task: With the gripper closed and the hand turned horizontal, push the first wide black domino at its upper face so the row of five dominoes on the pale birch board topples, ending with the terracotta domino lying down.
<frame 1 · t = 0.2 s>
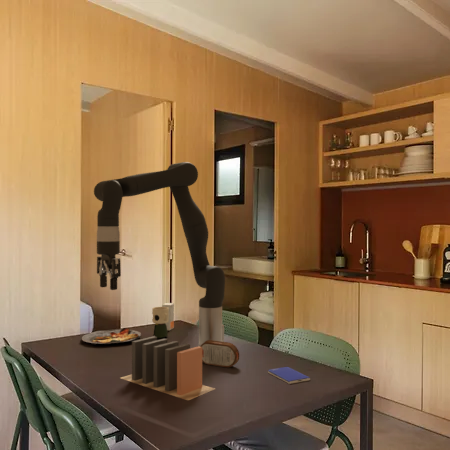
hand: (108, 288, 158), 28 cm above the table, tool pointing down, fingers open, 8 cm apart
domino 4: (177, 386, 141), point 1 cm above the table, touching board
tin: (218, 366, 166), on the table
board: (166, 385, 145), on the table
domino 5: (189, 390, 138), point 1 cm above the table, touching board
food plate: (112, 340, 203), on the table
skincare box: (168, 329, 224), on the table
domino 1: (144, 376, 151), point 1 cm above the table, touching board
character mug: (160, 338, 207), on the table
blue notebook: (288, 378, 154), on the table
domino 2: (155, 379, 148), point 1 cm above the table, touching board
domino 3: (166, 383, 145), point 1 cm above the table, touching board
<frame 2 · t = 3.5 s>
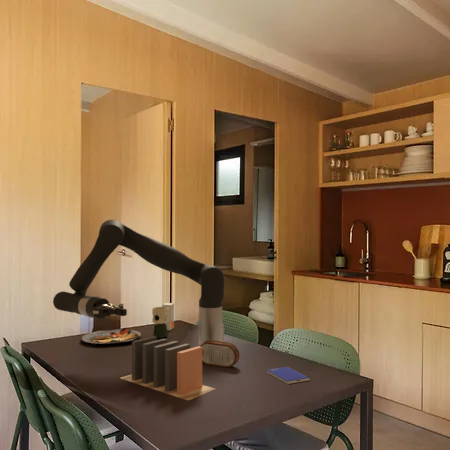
hand: (124, 312, 157), 20 cm above the table, tool horizontal, fingers closed
nothing on the table moved.
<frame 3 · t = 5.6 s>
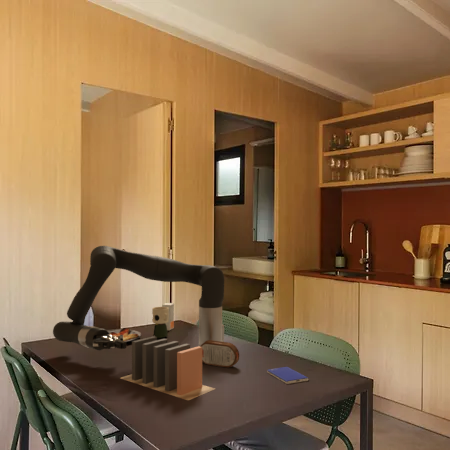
hand: (124, 345, 157), 9 cm above the table, tool horizontal, fingers closed
nothing on the table moved.
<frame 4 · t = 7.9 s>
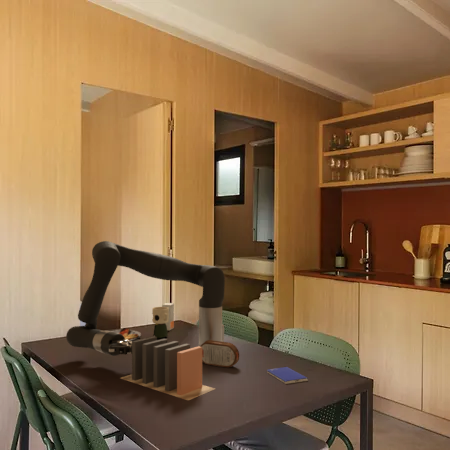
hand: (141, 351, 151), 9 cm above the table, tool horizontal, fingers closed
domino 1: (144, 376, 151), point 1 cm above the table, touching board, gripper
everything else where it was.
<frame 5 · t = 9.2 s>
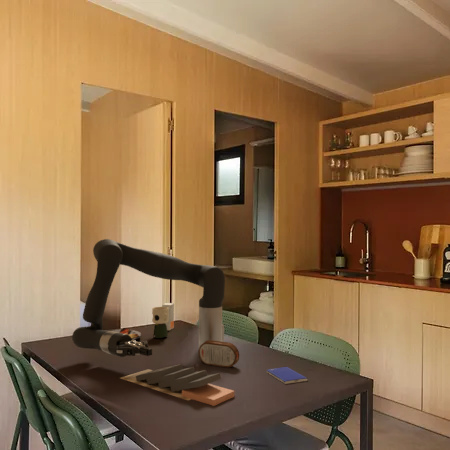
hand: (150, 352, 149), 9 cm above the table, tool horizontal, fingers closed
domino 4: (181, 385, 140), point 2 cm above the table, tilted 71°, touching domino 3, domino 5
domino 5: (192, 388, 137), point 2 cm above the table, tilted 90°, touching board, domino 4
domino 1: (147, 374, 150), point 2 cm above the table, tilted 71°, touching board, domino 2
domino 2: (157, 378, 147), point 2 cm above the table, tilted 71°, touching board, domino 1, domino 3
domino 3: (169, 381, 144), point 2 cm above the table, tilted 71°, touching board, domino 2, domino 4
everything else where it was.
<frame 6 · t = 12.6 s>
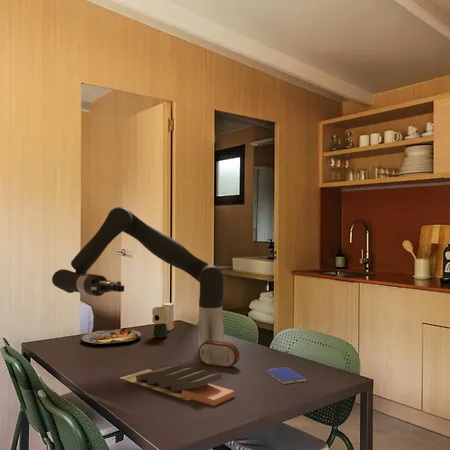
hand: (122, 288, 159), 28 cm above the table, tool horizontal, fingers closed
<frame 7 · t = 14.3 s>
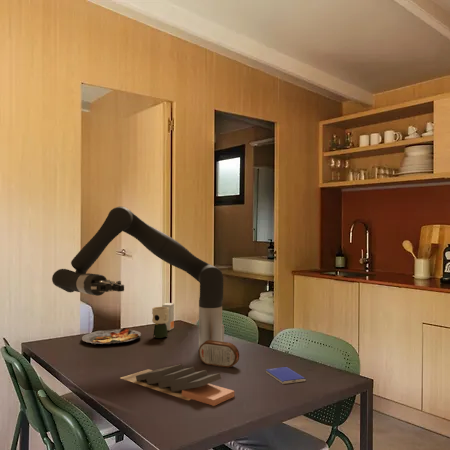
hand: (122, 288, 159), 28 cm above the table, tool horizontal, fingers closed
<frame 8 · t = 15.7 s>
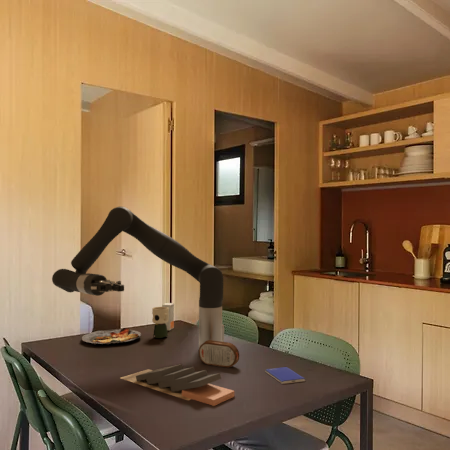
hand: (122, 288, 159), 28 cm above the table, tool horizontal, fingers closed
at the end: domino 5 tilted 90°; domino 3 tilted 71°; domino 1 tilted 71° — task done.
